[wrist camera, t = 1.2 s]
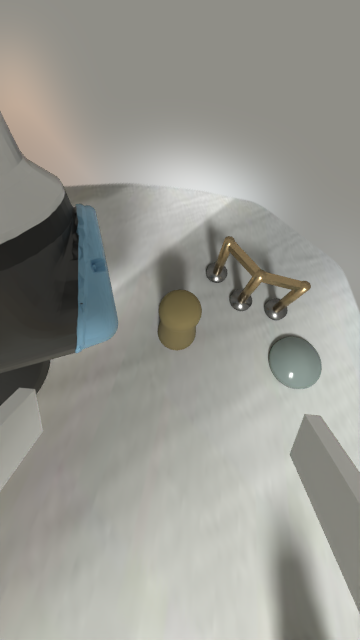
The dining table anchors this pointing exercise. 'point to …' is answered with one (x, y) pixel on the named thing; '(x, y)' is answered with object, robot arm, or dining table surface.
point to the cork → (178, 319)
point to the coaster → (295, 363)
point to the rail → (255, 282)
